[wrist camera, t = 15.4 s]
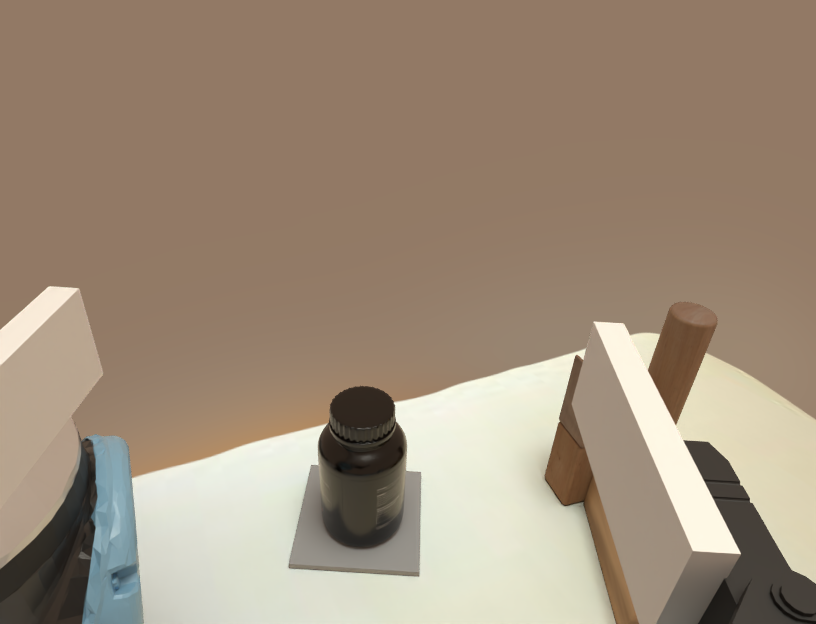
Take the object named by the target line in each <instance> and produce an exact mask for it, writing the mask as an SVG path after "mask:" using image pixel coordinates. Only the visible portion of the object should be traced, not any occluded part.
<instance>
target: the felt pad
mask: <svg viewBox="0 0 816 624" xmlns="http://www.w3.org/2000/svg"><path fill="white" fill-rule="evenodd" d="M420 503H421V472H412V471H406V478H405V497H404V512H403V518H402V521H401V524H400V526H399V528H398V529H397V531H396V532H395V533H394V534H393V535H392V536H391V537H390V538H388V539H387V540H385V541H384V542H382V543H379V544H377V545H373V546H368V547H355V546H350V545H346V544H344V543H342V542H340V541H338V540H337V539H335V538H334V537H333V536H332V535H331V534H330V533H329V532H328V530H327V529H326V527H325V525H324V522H323V518H322V510H321V495H320V478H319V465H311V469H310V473H309V478H308V482H307V486H306V491H305V495H304V499H303V504H302V508H301V513H300V517H299V521H298V526H297V530H296V534H295V539H294V543H293V548H292V552H291V556H290V561H289V568H299V569H315V570H330V571H346V572H362V573H378V574H393V575H409V576H419V560H420Z"/></svg>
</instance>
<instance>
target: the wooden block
mask: <svg viewBox="0 0 816 624" xmlns="http://www.w3.org/2000/svg"><path fill="white" fill-rule="evenodd" d="M716 326H717V317H716V315H715V313H713V312H712V311H711V310H710V309H708V308H706V307H704V306H701V305H699V304H695V303H689V302H678V303H675V304H674V305H672V306H671V307H670V309H669V311H668V314H667V317H666V320H665V323H664V326H663V329H662V332H661V334H660V337H659V340H658V343H657V346H656V349H655V351H654V354H653V357H652V360H651V363H650V366H649V369H648V372H649V374H650V376H651V378H652V380H653V382H654V384H655V386H656V388H657V390H658V392H659V394H660V396H661V398H662V400H663V402H664V404H665V406H666V408H667V410H668V411H669V413H670V415H671V417H672V419H673V421H674V423H675V425H676V424H677V421H678V419H679V417H680V414H681V412H682V409H683V407H684V404H685V402H686V399H687V397H688V395H689V392H690V390H691V387H692V385H693V382H694V380H695V377H696V375H697V372H698V370H699V368H700V365H701V363H702V360H703V358H704V355H705V353H706V350H707V348H708V346H709V343H710V341H711V338H712V336H713V333H714V331H715V328H716ZM582 363H583V360H582V359H581V358H580V357H579V356H578V355H576V356H575V359H574V363H573V367H572V371H571V375H570V378H569V382H568V386H567V390H566V394H565V398H564V401H563V405H562V409H561V413H560V417H559V420H560V422H559V423H558V427H557V431H556V435H555V439H554V442H553V446H552V450H551V454H550V458H549V462H548V465H547V469H546V473H545V478H546V480H547V482H548V483H549V485H550V486H551V487H552V489H553V490H554V492H555V493H556V495H557V496H558V498H559V499H560V501H561V502H562V504H564V505H568V504H572V503H576V502H580V501H584V500H585V498H586V495H587V492H588V489H589V486H590V483H591V480H592V477H593V472H592V469H591V466H590V462H589V459H588V456H587V453H586V449H585V446H584V443H583V440H582V436H581V433H580V430H579V427H578V423H577V420H576V417H575V414H574V410H573V407H572V400H573V396H574V393H575V389H576V385H577V382H578V378H579V374H580V371H581V367H582Z"/></svg>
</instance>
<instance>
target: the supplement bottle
mask: <svg viewBox="0 0 816 624" xmlns="http://www.w3.org/2000/svg"><path fill="white" fill-rule="evenodd" d="M406 459H407V440H406V436H405V434H404V432H403V430H402V428H401V427H400V425H399V424H398V423H397V422H396V418H395V405H394V401H393V400H392V398H391V397H390V396H389V395H388V394H387V393H385V392H384V391H382V390H380V389H376V388H374V387H368V386H365V387H364V386H360V387H353V388H349V389H347V390H344V391H343V392H340V393H339V394H338V395H336V396H335V398H334V399H333V400H332V403H331V404H330V419H329V423H328V424H327V425H326V427H325V428H324V429H323V431H322V433H321V435H320V437H319V441H318V462H319V478H320V495H321V510H322V518H323V522H324V525H325V527H326V529H327V530H328V532H329V533H330V534H331V535H332V536H333V537H334V538H335V539H337V540H338V541H340V542H342V543H344V544H346V545H350V546H355V547H368V546H373V545H377V544H379V543H382V542H384V541H385V540H387V539H388V538H390V537H391V536H392V535H393V534H394V533H395V532H396V531H397V529H398V528H399V526H400V524H401V521H402V518H403V512H404V497H405V478H406Z"/></svg>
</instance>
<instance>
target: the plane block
mask: <svg viewBox="0 0 816 624" xmlns="http://www.w3.org/2000/svg"><path fill="white" fill-rule="evenodd" d="M584 507H585V511H586V514H587V518H588V521H589V525H590V529H591V532H592V536H593V540H594V543H595V547H596V551H597V554H598V558H599V562H600V565H601V569H602V573H603V576H604V580H605V584H606V587H607V591H608V595H609V598H610V602H611V606H612V609H613V613H614V616H615V620H616V624H639V622H638V619H637V616H636V612H635V609H634V606H633V603H632V599H631V596H630V593H629V590H628V586H627V583H626V580H625V577H624V573H623V570H622V567H621V563H620V560H619V557H618V554H617V550H616V547H615V544H614V541H613V537H612V534H611V531H610V528H609V524H608V521H607V518H606V515H605V511H604V508H603V505H602V502H601V498H600V495H599V492H598V489H597V485H596V482H595V479H594V475H593V477H592V480H591V483H590V486H589V489H588V492H587V495H586V498H585V501H584Z"/></svg>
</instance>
